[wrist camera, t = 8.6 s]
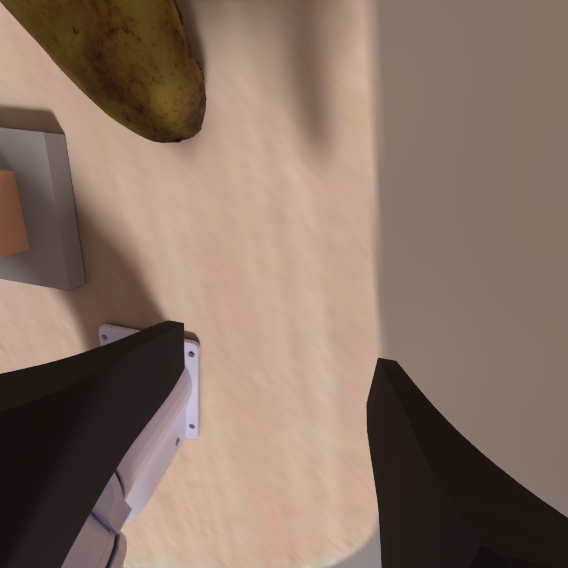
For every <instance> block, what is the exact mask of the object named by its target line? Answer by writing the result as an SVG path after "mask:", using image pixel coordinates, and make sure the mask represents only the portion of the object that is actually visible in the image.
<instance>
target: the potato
mask: <svg viewBox="0 0 568 568" xmlns="http://www.w3.org/2000/svg"><path fill="white" fill-rule="evenodd" d="M0 2H1V3H2V4H3V5H4V6H5V8H6V9H7V10H8V11H9V12H10V13H11V14H12V15H13V16H14V17H15V19H16V20H17V21H18V22H19V23H20V24H21V25H22V26H23V27H24V28H25V29H26V31H27V32H28V33H29V34H30V35H31V36H32V37H33V38H34V39H35V40H36V41H37V42H38V43H39V45H40V46H41V47H42V48H43V49H44V50H45V51H46V52H47V54H48V55H49V56H50V57H51V59H52V60H53V61H54V62H55V63H56V64H57V65H58V67H59V68H60V69H61V70H62V71H63V72H64V73H65V74H66V75H67V76H68V77H69V78H70V79H71V80H72V81H73V82H74V83H75V85H76V86H77V87H78V88H79V89H80V90H81V91H82V92H83V93H84V94H85V95H86V96H88V97H89V98H90V99H91V100H92V101H93V102H94V103H95V104H96V105H97V106H98V107H99V108H101V109H102V110H103V111H104V112H105V113H106V114H107V115H108V116H110V117H111V118H113V119H114V120H115V121H117V122H118V123H120V124H122V125H123V126H125V127H126V128H128V129H129V130H131V131H133V132H135V133H136V134H138V135H140V136H142V137H144V138H146V139H149V140H151V141H154V142H160V143H167V142H168V143H170V142H180V141H182V140H185V139H189V138H191V137H193V136H194V135H196V134H197V133H198V132H199V131H200V130H201V126H202V123H203V119H204V115H205V109H206V100H207V99H206V94H205V87H204V78H203V75H202V73H201V71H200V70H201V69H200V67H199V63H198V62H197V61H195V60H194V58H193V55H192V53H191V47H190V44H189V41H188V38H187V36H186V35H185V33H184V30H183V28H182V26H183V21H182V15H181V12H180V10H179V8H178V6H177V3H176V1H175V0H0Z"/></svg>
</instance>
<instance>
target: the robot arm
mask: <svg viewBox="0 0 568 568" xmlns="http://www.w3.org/2000/svg"><path fill="white" fill-rule="evenodd" d="M98 332H99V340H100V347H98V348H95V349H92V350H89V351H87V352H84V353H81V354H77V355H74V356H71V357H68V358H64V359H61V360H57V361H54V362H50V363H46V364H42V365H38V366H33V367H29V368H25V369H20V370H16V371H12V372H7V373H2V374H0V568H123V564H124V560H125V555H126V550H127V540H126V537H125V535H124V534H123V533H122V532H121V531H120V530H121V528H122V527H123V526H124V525H126V524H127V523H129V522H130V521H131V520H133V519H134V518H135V517H136V516H137V515H138V514H139V513H140V512H141V511H142V510H143V509H144V508H145V506H146V505H147V504H148V502H149V501H150V499H151V497H152V496H153V494H154V492H155V490H156V489H157V487H158V485H159V483H160V482H161V480H162V478H163V476H164V475H165V473H166V471H167V469H168V468H169V466H170V464H171V462H172V461H173V459H174V457H175V455H176V454H177V452H178V450H179V448H180V447H181V445H182V443H183V441H184V440H185V438H187V439H192V440H195V439H197V438H198V436H199V400H200V346H199V344H198V343H197V342H196V341H194V340H189V339H184V323H180V322H175V321H165V322H162V323H159V324H157V325H154V326H151V327H149V328H146V329H144V330H142V331H141V330H136V329H130V328H125V327H120V326H114V325H109V324H103V325H101V326H100V327H99V328H98ZM105 335H106V336H107V337H106V336H105ZM190 351H192V352H193V353H194V354H192V353H191V352H190ZM192 424H193V425H192ZM367 433H368V440H369V447H370V454H371V461H372V467H373V474H374V481H375V487H376V494H377V502H378V511H379V525H380V541H381V542H380V543H381V561H382V562H381V564H382V568H568V518H567V517H566V516H564V515H563V514H561V513H560V512H558V511H557V510H555V509H554V508H553V507H551V506H550V505H548V504H547V503H546V502H544V501H543V500H541V499H540V498H538V497H537V496H535V495H534V494H533V493H532V492H530V491H529V490H527V489H526V488H525V487H523V486H522V485H521V484H519V483H518V482H517V481H515V480H514V479H513V478H512V477H510V476H509V475H508V474H507V473H505V472H504V471H503V470H502V469H500V468H499V467H498V466H496V465H495V464H494V463H493V462H492V461H491V460H489V459H488V458H487V457H486V456H485V455H483V454H482V453H481V452H480V451H479V450H478V449H477V448H476V447H475V446H473V445H472V444H471V443H470V442H469V441H468V440H467V439H466V438H465V437H463V436H462V435H461V434H460V433H459V432H458V431H457V430H456V429H455V428H454V427H453V426H452V425H451V424H450V423H449V422H448V421H447V420H446V419H445V418H444V416H443V415H441V413H440V412H439V411H438V410H437V409H436V408H435V407H434V406H433V405H432V404H431V402H430V401H429V400H428V399H427V398H426V397H425V395H424V394H423V393H422V392H421V391H420V390H419V388H418V387H417V386H416V385H415V384H414V383H413V381H412V380H411V379H410V378H409V376H408V375H407V374H406V372H405V371H404V370H403V369H402V367H401V366H400V365H399V364H398V363H397V361H394V360H388V359H382V358H378V360H377V364H376V368H375V372H374V376H373V380H372V384H371V388H370V392H369V396H368V400H367Z"/></svg>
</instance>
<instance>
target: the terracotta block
mask: <svg viewBox="0 0 568 568" xmlns="http://www.w3.org/2000/svg"><path fill="white" fill-rule="evenodd" d="M26 250H30V248H29V243H28V238H27V233H26V228H25V223H24V218H23V213H22V209H21V204H20V199H19V194H18V189H17V184H16V179H15V174H14V171H8V170H0V257H4V256H8V255H12V254H15V253H19V252H23V251H26Z"/></svg>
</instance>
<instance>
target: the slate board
mask: <svg viewBox="0 0 568 568" xmlns="http://www.w3.org/2000/svg"><path fill="white" fill-rule="evenodd" d="M0 170H8V171H14V174H15V179H16V184H17V189H18V194H19V199H20V204H21V209H22V213H23V218H24V223H25V228H26V233H27V238H28V243H29V248H30V250H26V251H23V252H19V253H15V254H12V255H8V256H4V257H0V279H5V280H11V281H16V282H22V283H28V284H34V285H39V286H45V287H51V288H56V289H62V290H68V291H70V290H73V289H75V288H77V287H79V286H81V285H83V284H86V281H85V274H84V267H83V260H82V253H81V246H80V239H79V232H78V224H77V217H76V210H75V203H74V196H73V189H72V182H71V175H70V168H69V161H68V154H67V147H66V140H65V135H63V134H54V133H45V132H36V131H27V130H18V129H9V128H0Z"/></svg>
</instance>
